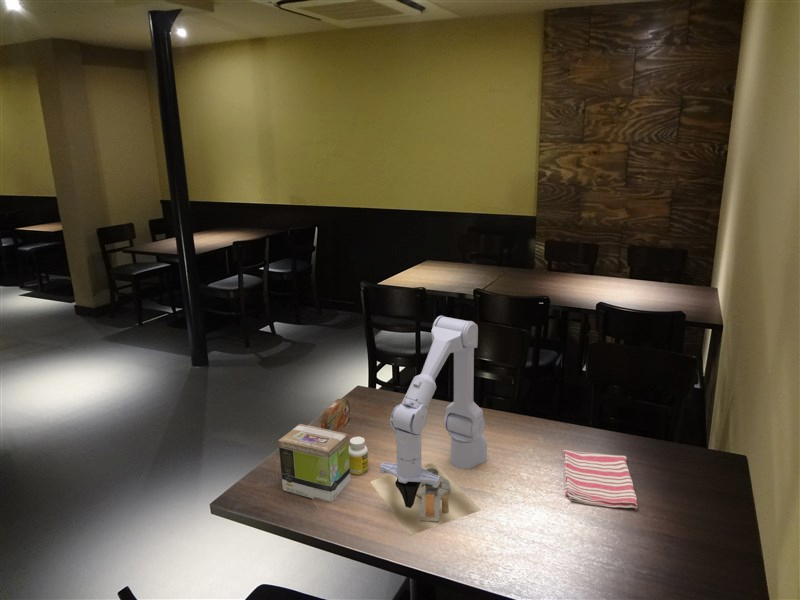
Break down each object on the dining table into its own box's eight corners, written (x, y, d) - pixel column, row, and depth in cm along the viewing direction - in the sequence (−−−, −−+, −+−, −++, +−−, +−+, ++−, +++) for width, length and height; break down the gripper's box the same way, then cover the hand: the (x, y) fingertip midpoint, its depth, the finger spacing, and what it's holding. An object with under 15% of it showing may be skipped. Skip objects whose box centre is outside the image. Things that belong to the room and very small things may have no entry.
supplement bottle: (365, 479, 147) (364, 446, 144) (345, 477, 148) (344, 444, 145) (370, 468, 152) (369, 435, 149) (351, 466, 153) (350, 434, 150)
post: (434, 484, 143) (434, 467, 141) (440, 491, 140) (440, 473, 138) (423, 487, 141) (422, 470, 140) (429, 494, 138) (429, 477, 137)
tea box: (351, 483, 145) (349, 432, 141) (331, 505, 137) (328, 452, 133) (303, 470, 152) (300, 421, 147) (281, 491, 143) (276, 439, 139)
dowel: (446, 508, 133) (446, 493, 132) (449, 512, 132) (449, 497, 131) (440, 510, 133) (440, 495, 131) (443, 514, 131) (444, 499, 130)
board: (433, 465, 153) (433, 462, 152) (481, 513, 133) (481, 509, 132) (369, 484, 145) (369, 481, 144) (410, 538, 125) (410, 535, 124)
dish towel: (564, 504, 136) (565, 491, 135) (562, 453, 158) (562, 442, 157) (638, 514, 132) (640, 501, 131) (626, 461, 154) (627, 450, 153)
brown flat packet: (329, 441, 166) (327, 416, 163) (320, 440, 167) (318, 414, 164) (351, 418, 179) (350, 394, 177) (342, 417, 180) (341, 393, 178)
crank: (415, 477, 145) (414, 460, 144) (449, 478, 144) (449, 461, 143) (410, 520, 129) (409, 501, 127) (449, 521, 128) (449, 503, 127)
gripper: (372, 455, 127) (374, 506, 131) (431, 470, 121) (431, 523, 125) (386, 441, 134) (388, 490, 137) (443, 454, 127) (443, 505, 131)
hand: (409, 505), depth 132 cm, fingers closed
